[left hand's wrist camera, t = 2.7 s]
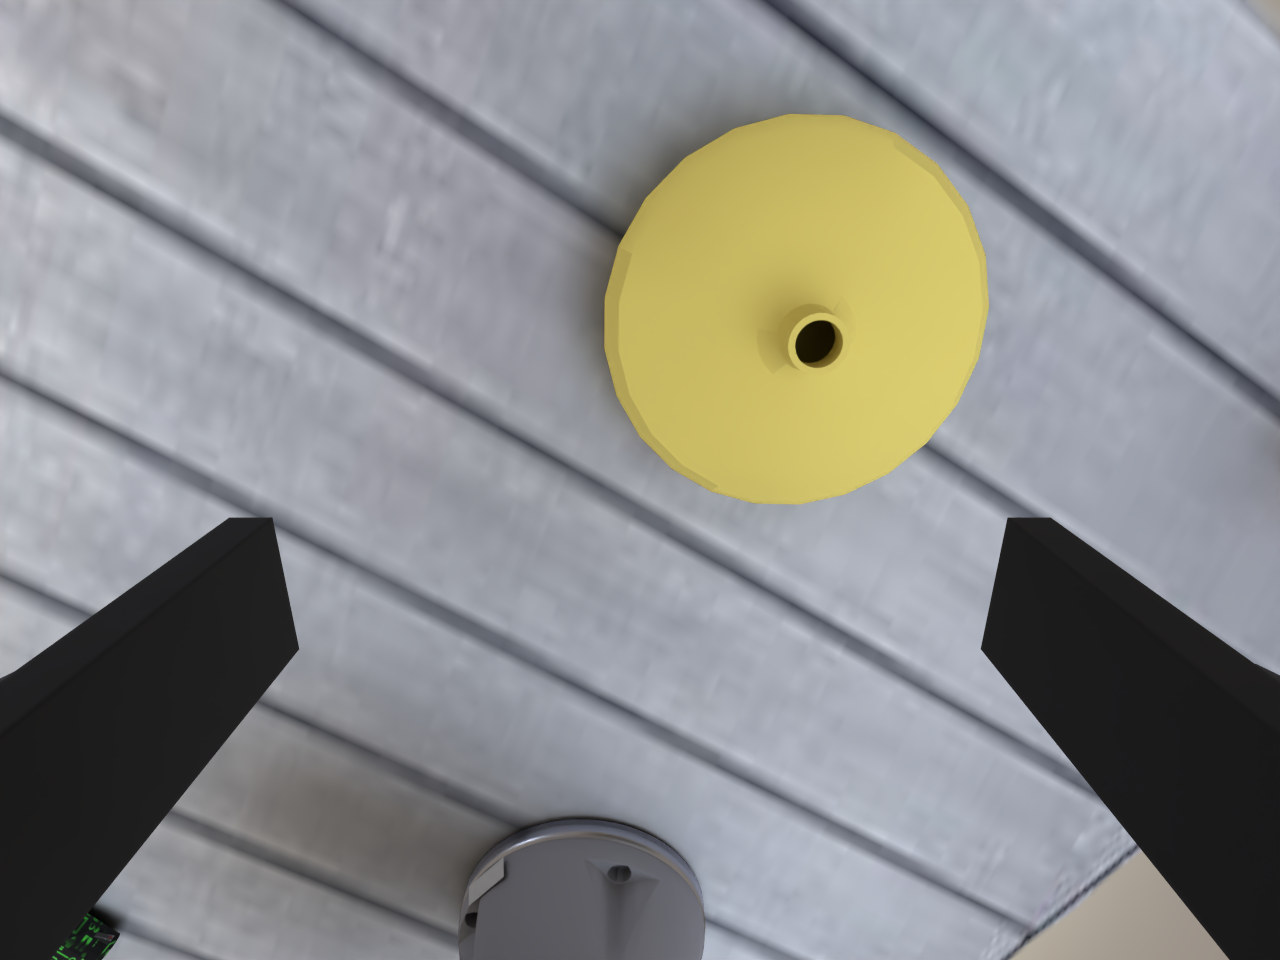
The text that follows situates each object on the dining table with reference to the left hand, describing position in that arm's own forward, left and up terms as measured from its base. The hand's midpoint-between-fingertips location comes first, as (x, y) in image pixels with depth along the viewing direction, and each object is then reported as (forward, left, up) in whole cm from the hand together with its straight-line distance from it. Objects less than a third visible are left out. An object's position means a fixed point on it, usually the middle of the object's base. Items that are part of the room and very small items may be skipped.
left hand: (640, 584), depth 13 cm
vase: (-1, -7, -21) cm, 22 cm away
